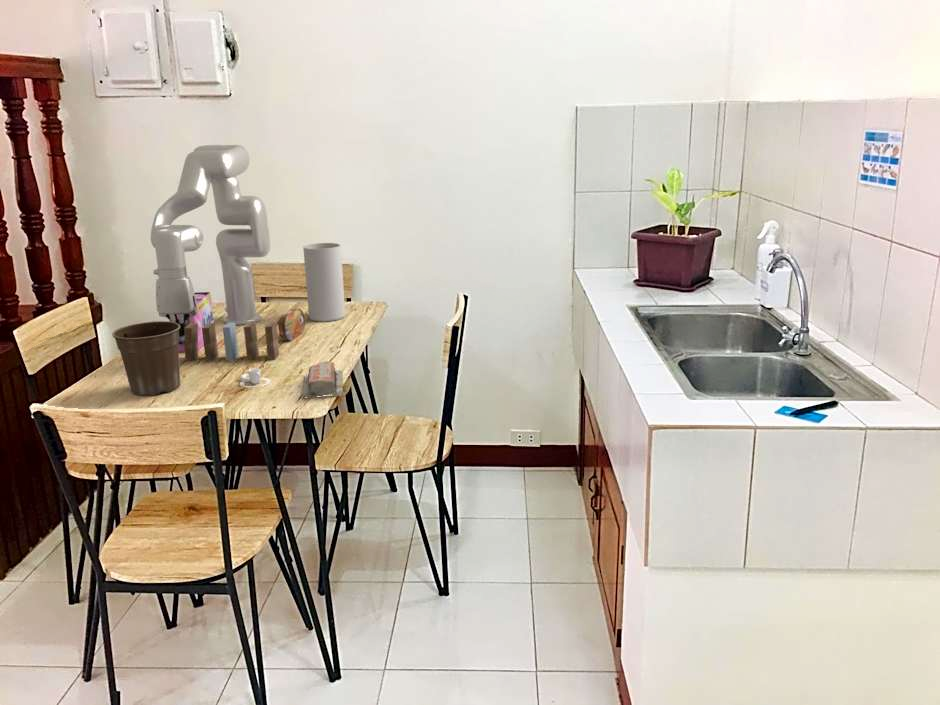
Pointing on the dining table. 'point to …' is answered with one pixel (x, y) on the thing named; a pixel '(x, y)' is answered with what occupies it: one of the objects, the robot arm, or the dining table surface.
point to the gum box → (199, 318)
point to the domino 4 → (251, 340)
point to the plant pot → (150, 356)
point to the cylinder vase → (324, 281)
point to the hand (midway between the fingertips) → (181, 335)
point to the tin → (291, 324)
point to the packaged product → (323, 380)
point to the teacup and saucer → (253, 378)
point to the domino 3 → (230, 341)
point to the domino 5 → (272, 340)
